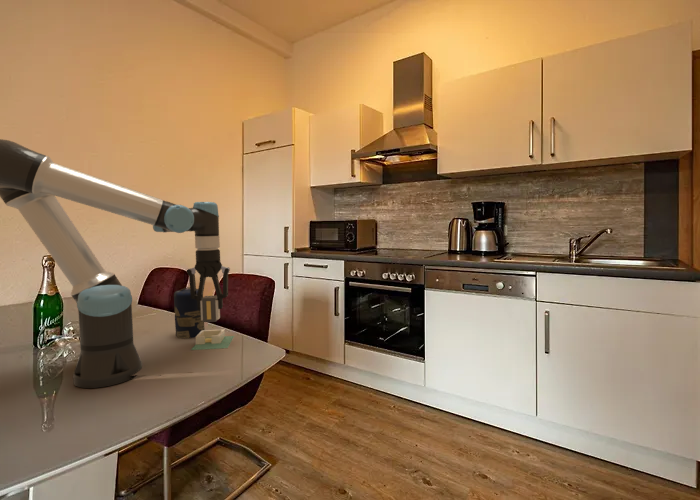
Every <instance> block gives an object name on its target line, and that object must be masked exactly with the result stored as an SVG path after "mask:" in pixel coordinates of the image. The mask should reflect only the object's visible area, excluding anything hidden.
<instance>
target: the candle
mask: <svg viewBox="0 0 700 500" xmlns="http://www.w3.org/2000/svg"><path fill="white" fill-rule="evenodd" d="M196 294H198V288H196ZM173 301H174V303H173V304H174V305H173V306H174V324H175V325H174V326H175V337H176V338H177V339H194V338H196V336H197V335H198V334H199V333H200V332H201V331H202V330H206V329H205V322H203V320H201V310H198V309H197V300H196V299H191V293H190V286H188V287H184V288H182V289H179V290H176V291H175V292H174V293H173Z"/></svg>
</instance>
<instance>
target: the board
mask: <svg viewBox="0 0 700 500" xmlns="http://www.w3.org/2000/svg"><path fill="white" fill-rule="evenodd" d="M234 338H235V335H225V337H224V339H223V340H222V342H221V343H218V344H212V342H208V343H205V344H198V345H196V343H195V345H194V346H192V348H191V349H190V351H199V350H201V351H202V350H203V351H204V350H219V349H228V348H229V346H230V345H231V342H233V340H234ZM205 339H206V338H205Z"/></svg>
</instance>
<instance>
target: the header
mask: <svg viewBox="0 0 700 500" xmlns="http://www.w3.org/2000/svg"><path fill="white" fill-rule="evenodd" d="M225 330H226V329H225V328H223V329H205V330H202V331H201V332H200V333H199V334H198V335H197V336H196V337H195V344H196V345H198V344H205V343H208V342H212V344H218V343H221V342H222V340H223V339H224V337H225V336H226V331H225ZM205 338H206V339H205Z"/></svg>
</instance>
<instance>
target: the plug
mask: <svg viewBox="0 0 700 500" xmlns="http://www.w3.org/2000/svg"><path fill="white" fill-rule="evenodd" d="M216 299H217V295H203V298H202V309H203V322H204V323H215V322H217V321H218V320H216V305H215V300H216Z"/></svg>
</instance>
